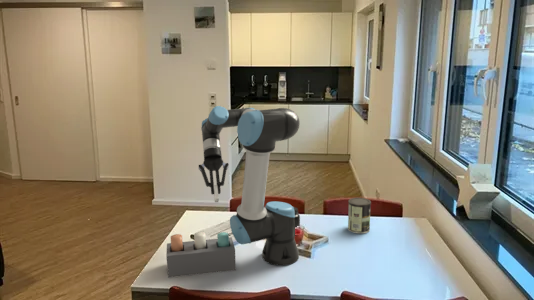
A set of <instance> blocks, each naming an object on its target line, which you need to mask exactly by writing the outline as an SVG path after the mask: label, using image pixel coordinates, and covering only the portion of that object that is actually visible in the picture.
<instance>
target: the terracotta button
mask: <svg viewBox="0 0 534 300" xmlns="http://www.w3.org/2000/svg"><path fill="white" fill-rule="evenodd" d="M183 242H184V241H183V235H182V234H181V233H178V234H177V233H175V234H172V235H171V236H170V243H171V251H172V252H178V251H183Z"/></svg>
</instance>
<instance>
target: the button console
mask: <svg viewBox="0 0 534 300" xmlns="http://www.w3.org/2000/svg"><path fill="white" fill-rule="evenodd" d="M233 240H234V239H233V238H232V237H229V247H219V248H218V238H211V239H210V238H209V239H206V249H199V250H195V241H194V240H189V241H182V242H183V251H178V252H172V251H171V242H169V243H166V254H165V255H166V268H167V269H166V270H167V272H166V273H167V278H178V277H185V276H186V277H187V276H195V275H203V274H204V275H205V274H216V273H222V272H224V273H225V272H232V271H236V270H237V267H236V266H237V262H236V261H237V260H236V247H235V245H234V241H233Z"/></svg>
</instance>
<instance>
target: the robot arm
mask: <svg viewBox="0 0 534 300" xmlns="http://www.w3.org/2000/svg"><path fill="white" fill-rule="evenodd" d="M234 127H237V128H236V130H237V131H236V132H237V139H238V141H239V143H240V144H241V145H242V148H243V150H245V161H244V172H243V184H242V194H241V204H239V205H238V206H237V208H236V214H233V215H232V216H230V219H229V226H230V230H231V234H232V236H233V238H234V239H235V241H236V242H237V243H238V244H240V245H247V244H252V243H255V242H259V241H262V240H263V241H264V240H265V242H264V245H263V248H262V251H261V258H262V259H263V261H264V262H265V263H267V264H269V265H273V266H287V265H288V266H289V265H292V264H294V263H296V262H297V261H299V258H300V257H299V256H300V253H299V252H300V251H299V248H298V246H297V242H296V240H295V239H296V238H295V236H296V235H295V212H294V208H293V207H294V206H292V205H291V204H290V203H288V202H284V201H275V200H274V201H268V202H267V203H266V204H265V198H266V191H267V189H266V188H267V183H268V182H267V180H268V172H269V165H270V164H269V163H270V155H271V153H272V152H274V151H275V149H276V148H275V147H276V143H277V142H281V141H287V140H289V139H291V138H293V137H294V136H295V135H296V134H297V133H298V131H299V129H300V118H299V116H298V114H297V113H296V112H295V111H294V110H292V109H291V108H286V107H280V108H269V109H257V108H256V109H255V108H254V107H244V108H243V107H242V108H235V109H227V108H226V107H224V106H221V105H216V106H214V107H213V108H211V111H210V112H209V114H208V117H206V118H205V119H204V120H202V121H201V126H200V128H201V129H200V131H201V135H202V148H203V163H202V164H198V170H199V171H200V172H201V175H202V178H203V180H204V185H205V186H206V188H207V187H209V188H210V194H211V195H213V196H214V197H213V198H214V203H219V195H221V187H223V186H224V185H225V180H226V173H227V170H228V168H229V163H228V162H224V159H222V158H223V157H222V148H221V140H220V139H221V137H220V135H221V132H222V130H223V129H224V128H234ZM205 168H206V169H207V171H208V172H209V178H208V176H207V173H206V170H205ZM221 168H222V169H223V170H222V175H221V178H220V170H221ZM214 171H215V180H216V181H215V182H216V184H214V183H215V182H214ZM220 179H221V180H220Z"/></svg>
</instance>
